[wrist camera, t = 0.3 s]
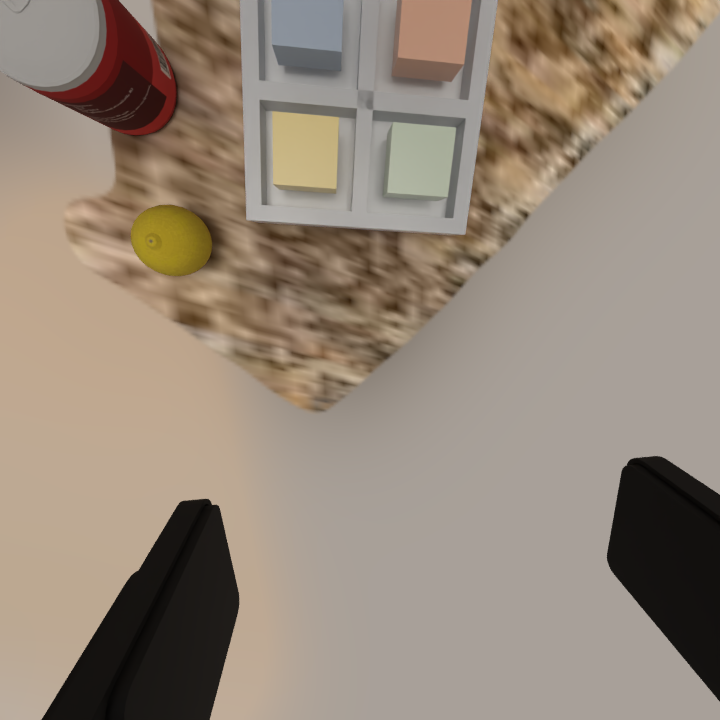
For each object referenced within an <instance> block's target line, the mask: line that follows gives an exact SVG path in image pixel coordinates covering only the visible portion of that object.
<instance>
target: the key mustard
mask: <svg viewBox="0 0 720 720" xmlns="http://www.w3.org/2000/svg"><path fill="white" fill-rule="evenodd" d="M272 125H273V185H275V186H276V187H277V188H278V189H279V190H293V191H306V192H320V193H333V194H336V190H337V164H338V138H339V117H332V116H321V115H309V114H298V113H287V112H276V111H272Z"/></svg>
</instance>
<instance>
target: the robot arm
mask: <svg viewBox="0 0 720 720" xmlns="http://www.w3.org/2000/svg"><path fill="white" fill-rule="evenodd" d="M607 561H608V564H609V567H610V569H611V571H612V572H613V573H614V575H615V576H616V577H617V578H618V580H619V581H620V582H621V583H622V584H623V586H624V587H625V588H626V589H627V590H628V592H629V593H630V594H631V595H632V596H633V598H634V599H635V600H636V601H637V602H638V604H639V605H640V606H641V607H642V608H643V610H644V611H645V612H646V613H647V614H648V616H649V617H650V618H651V619H652V620H653V622H654V623H655V624H656V625H657V626H658V628H659V629H660V630H661V631H662V632H663V634H664V635H665V636H666V637H667V638H668V640H669V641H670V642H671V643H672V645H673V646H674V647H675V648H676V649H677V650H678V652H679V653H680V654H681V655H682V657H683V658H684V659H685V660H686V661H687V663H688V664H689V665H690V666H691V667H692V669H693V670H694V671H695V672H696V673H697V675H698V676H699V677H700V678H701V679H702V681H703V682H704V683H705V684H706V685H707V687H708V688H709V689H710V690H711V691H712V693H713V694H714V695H715V696H716V697H717V699H718V700H719V701H720V495H719V494H718V493H716V492H715V491H713V490H712V489H710V488H709V487H707V486H706V485H704V484H703V483H701V482H700V481H698V480H697V479H695V478H693V477H692V476H690V475H689V474H688V473H686V472H685V471H683V470H682V469H680V468H679V467H677V466H676V465H674V464H673V463H671V462H670V461H668V460H666V459H665V458H663V457H658V456H653V457H642V458H634V459H631V460H630V461H629V462H628V463H627V466H625V467H624V468H623V470H622V473H621V478H620V484H619V490H618V495H617V501H616V507H615V512H614V518H613V524H612V529H611V535H610V541H609V546H608V553H607ZM238 609H239V592H238V588H237V583H236V579H235V574H234V570H233V565H232V561H231V557H230V552H229V548H228V543H227V539H226V534H225V530H224V525H223V521H222V517H221V512H220V508H219V506H218V505H212V504H211V501H210V500H209V499H199V500H189V501H182V502H180V503H179V505H178V506H177V507H176V509H175V511H174V512H173V514H172V516H171V517H170V519H169V521H168V522H167V524H166V526H165V527H164V529H163V531H162V532H161V534H160V536H159V537H158V539H157V541H156V542H155V544H154V546H153V547H152V549H151V551H150V552H149V554H148V556H147V557H146V559H145V561H144V562H143V564H142V566H141V568H140V569H139V571H137V572H135V573H134V574H133V575H131V577H130V578H129V580H128V581H127V582H126V584H125V585H124V587H123V588H122V590H121V592H120V593H119V595H118V597H117V598H116V600H115V602H114V603H113V605H112V606H111V608H110V610H109V611H108V613H107V614H106V616H105V618H104V619H103V621H102V623H101V624H100V626H99V627H98V629H97V631H96V632H95V634H94V635H93V637H92V639H91V640H90V642H89V644H88V645H87V647H86V648H85V650H84V652H83V653H82V655H81V657H80V658H79V660H78V661H77V663H76V665H75V666H74V668H73V670H72V671H71V673H70V674H69V676H68V678H67V680H66V681H65V683H64V684H63V686H62V688H61V689H60V691H59V692H58V694H57V696H56V697H55V699H54V701H53V702H52V704H51V705H50V707H49V709H48V710H47V712H46V714H45V715H44V717H43V718H42V720H210V716H211V712H212V708H213V704H214V701H215V697H216V693H217V689H218V686H219V682H220V678H221V674H222V671H223V667H224V663H225V659H226V656H227V652H228V648H229V644H230V641H231V637H232V633H233V629H234V626H235V622H236V617H237V614H238Z"/></svg>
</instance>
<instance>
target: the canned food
mask: <svg viewBox="0 0 720 720" xmlns="http://www.w3.org/2000/svg"><path fill="white" fill-rule="evenodd" d="M0 72H2V73H4V74H5V75H7V76H8V77H10V78H11V79H13V80H15V81H17V82H19V83H20V84H22V85H24V86H26V87H28V88H30V89H32V90H34V91H36V92H37V93H39V94H42V95H44V96H46V97H48V98H50V99H52V100H54V101H56V102H58V103H60V104H62V105H64V106H66V107H68V108H71V109H72V110H75V111H77V112H79V113H81V114H83V115H85V116H87V117H89V118H91V119H93V120H95V121H97V122H99V123H101V124H103V125H105V126H107V127H109V128H111V129H113V130H116V131H118V132H121V133H124V134H130V135H145V134H149V133H153V132H156V131H157V130H159V129H161V128H162V127H163V126H164V125H165V124H166V123H167V122H168V121H169V120H170V118H171V116H172V115H173V112H174V109H175V106H176V98H177V93H176V83H175V79H174V75H173V71H172V69H171V66H170V64H169V61H168V59H167V57H166V56H165V54H164V52H163V51H162V49H161V48H160V47H159V45H158V44H157V43H156V42H155V41H154V39H153V38H152V37H151V36H150V35H149V34H148V33H147V32H146V30H145V29H144V28H143V27H142V26H141V25H140V24H139V23H138V21H137V20H136V19H135V18H134V17H133V16H132V15H131V14H130V13H129V12H128V10H127V9H126V8H125V7H124V6H123V5H122V4H121V3H120V2H119V0H0Z"/></svg>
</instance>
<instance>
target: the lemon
mask: <svg viewBox="0 0 720 720" xmlns="http://www.w3.org/2000/svg"><path fill="white" fill-rule="evenodd" d="M131 242H132V246H133V249H134V251H135V253H136V254H137V256H138V257H139V259H140V260H141V261H142V262H143V263H144V264H145V265H146V266H148V267H149V268H151V269H153V270H154V271H156V272H159V273H162V274H165V275H171V276H183V275H189V274H191V273H194V272H196V271H198V270H199V269H200V268H201V267H203V266H204V265H205V264H206V262H207V261H208V259H209V257H210V254H211V251H212V240H211V235H210V233H209V231H208V228H207V226H206V225H205V224H204V223H203V221H202V220H201V219H200V218H199V217H198V216H196V215H195V214H194V213H193V212H191V211H189V210H187V209H185V208H183V207H179V206H174V205H159V206H155V207H152V208H149V209H147V210H146V211H144V212H143V213H141V214H140V215H139V216H138V217H137V219H136V220H135V221H134V224H133V226H132V229H131Z"/></svg>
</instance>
